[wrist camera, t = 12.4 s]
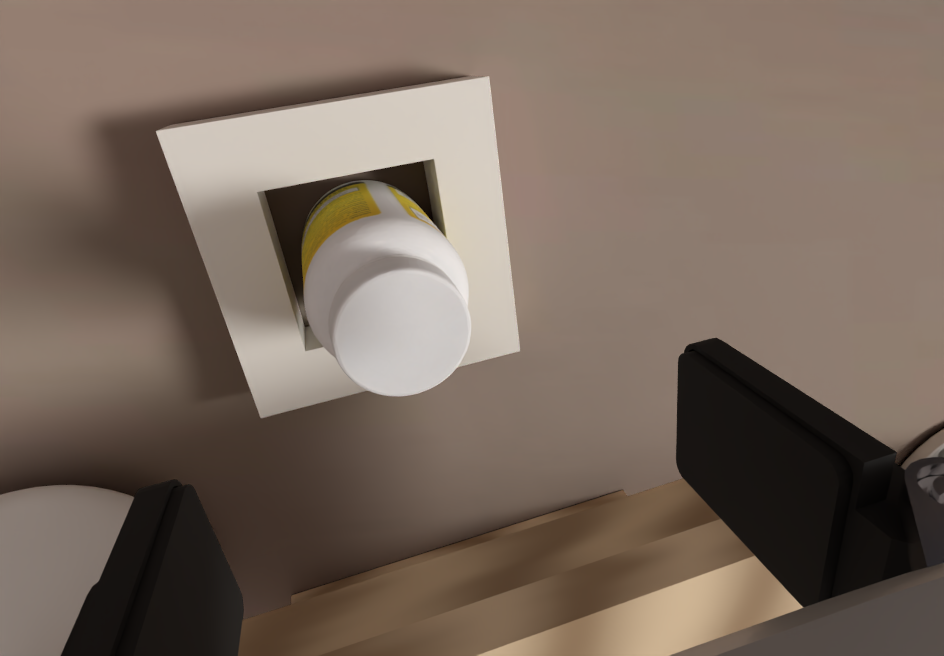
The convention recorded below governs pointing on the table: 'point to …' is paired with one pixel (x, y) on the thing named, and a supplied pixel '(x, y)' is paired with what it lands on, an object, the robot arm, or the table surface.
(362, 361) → the supplement bottle
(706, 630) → the small wooden stool
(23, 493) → the flower in vase
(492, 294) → the socket block
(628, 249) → the table surface
